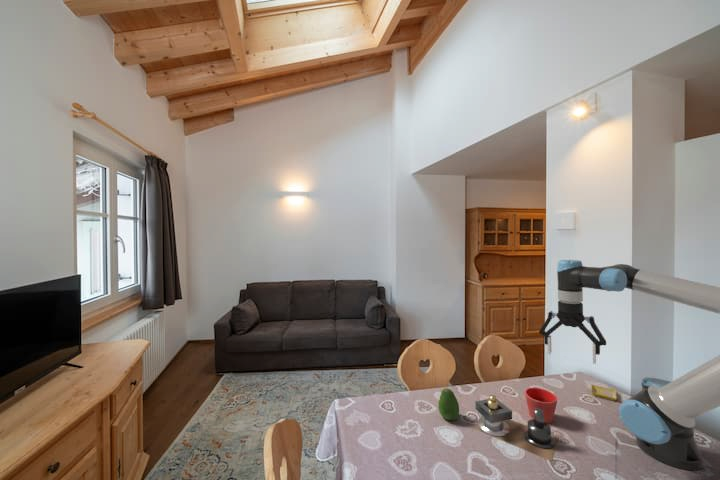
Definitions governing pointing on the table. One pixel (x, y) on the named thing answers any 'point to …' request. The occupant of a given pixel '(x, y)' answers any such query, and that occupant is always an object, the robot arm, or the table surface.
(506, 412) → the grey slotted housing
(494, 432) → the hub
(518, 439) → the board
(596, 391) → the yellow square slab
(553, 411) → the flower pot
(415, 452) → the table surface
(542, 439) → the stand
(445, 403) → the fruit
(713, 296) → the robot arm
